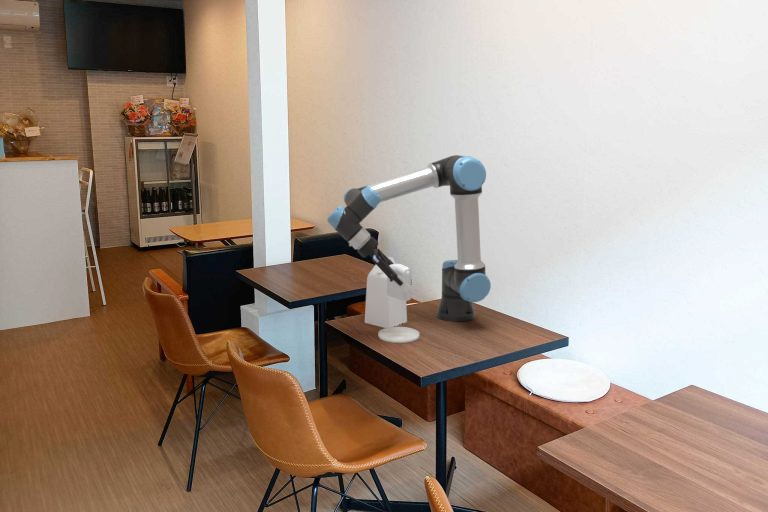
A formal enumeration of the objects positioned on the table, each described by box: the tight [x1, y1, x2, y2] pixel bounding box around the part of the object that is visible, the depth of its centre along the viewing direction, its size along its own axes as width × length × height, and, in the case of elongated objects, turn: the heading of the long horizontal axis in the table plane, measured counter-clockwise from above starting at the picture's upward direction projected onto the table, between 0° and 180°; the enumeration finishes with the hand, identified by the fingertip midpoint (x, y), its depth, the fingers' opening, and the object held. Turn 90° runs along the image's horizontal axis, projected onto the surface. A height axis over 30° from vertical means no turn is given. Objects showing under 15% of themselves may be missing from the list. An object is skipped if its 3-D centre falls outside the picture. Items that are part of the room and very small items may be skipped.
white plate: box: [377, 326, 420, 344], centre depth 239 cm, size 15×15×1 cm
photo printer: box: [387, 263, 412, 302], centre depth 234 cm, size 10×4×12 cm, turn 39°
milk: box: [364, 256, 408, 329], centre depth 254 cm, size 12×12×26 cm
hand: (408, 287), depth 235 cm, fingers closed on photo printer, 9 cm apart
